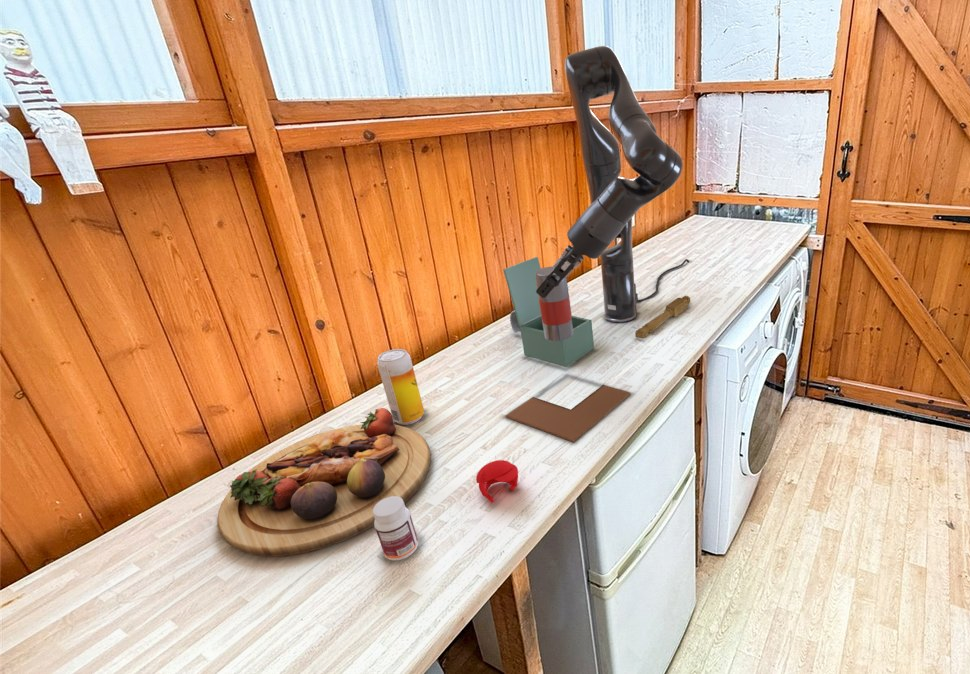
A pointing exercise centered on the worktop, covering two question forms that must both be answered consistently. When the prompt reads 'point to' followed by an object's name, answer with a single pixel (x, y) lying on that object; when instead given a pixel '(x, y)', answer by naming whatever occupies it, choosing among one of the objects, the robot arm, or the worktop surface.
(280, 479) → the wooden plate
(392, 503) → the pill bottle
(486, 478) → the cap
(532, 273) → the bin lid
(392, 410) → the beer can
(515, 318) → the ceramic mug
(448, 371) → the worktop surface
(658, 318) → the tap handle
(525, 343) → the bin
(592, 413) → the mat
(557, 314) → the tin
